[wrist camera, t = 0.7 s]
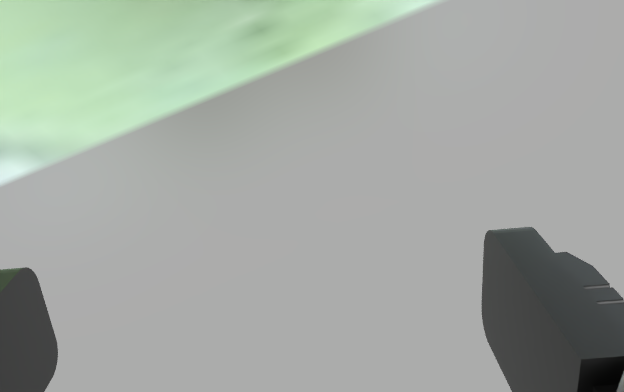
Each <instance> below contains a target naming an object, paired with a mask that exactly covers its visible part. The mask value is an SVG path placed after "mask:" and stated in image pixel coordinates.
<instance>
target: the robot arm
mask: <svg viewBox="0 0 624 392" xmlns="http://www.w3.org/2000/svg"><path fill="white" fill-rule="evenodd" d="M483 259H484V260H483V284H482V319H483V325H484V330H485V334H486V338H487V340H488V343H489V345H490V347H491V349H492V351H493V353H494V355H495V357H496V359H497V361H498V364H499V366H500V368H501V370H502V372H503V374H504V376H505V378H506V380H507V382H508V384H509V386H510V388H511V390H512V392H624V300H623V298H622V297H621V296H620V295H619V294H618V293H617V291H616V290H615V289H614V288H610V286H609V283H608V282H607V281H606V280H605V279H604V278H603V277H602V275H601V274H599V272H598V271H597V270H596V269H595V268H594V267H593V266H592V265H590V264H588V263H586V262H584V261H582V260H581V259H579V258H576V257H575V256H573V255H571V254H569V253H567V252H560V253H554V251H553V250H552V249H551V248H550V247H549V245H548V244H547V243H546V242H545V241H544V239H543V238H542V237H541V236H540V235H539V234H538V232H537V231H536V230H535V229H534V228H532V227H524V228H511V229H500V230H489V231H488V232H487V233H486V235H485V240H484V257H483ZM57 357H58V349H57V341H56V338H55V334H54V331H53V328H52V325H51V321H50V318H49V314H48V311H47V308H46V304H45V301H44V298H43V295H42V291H41V288H40V285H39V282H38V279H37V276H36V275H35V273H34V272H33V271H32V270H31V269H29V268H16V269H3V270H0V392H44V391H45V389H46V388H47V386H48V384H49V382H50V381H51V379H52V377H53V375H54V372H55V369H56V365H57Z"/></svg>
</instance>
